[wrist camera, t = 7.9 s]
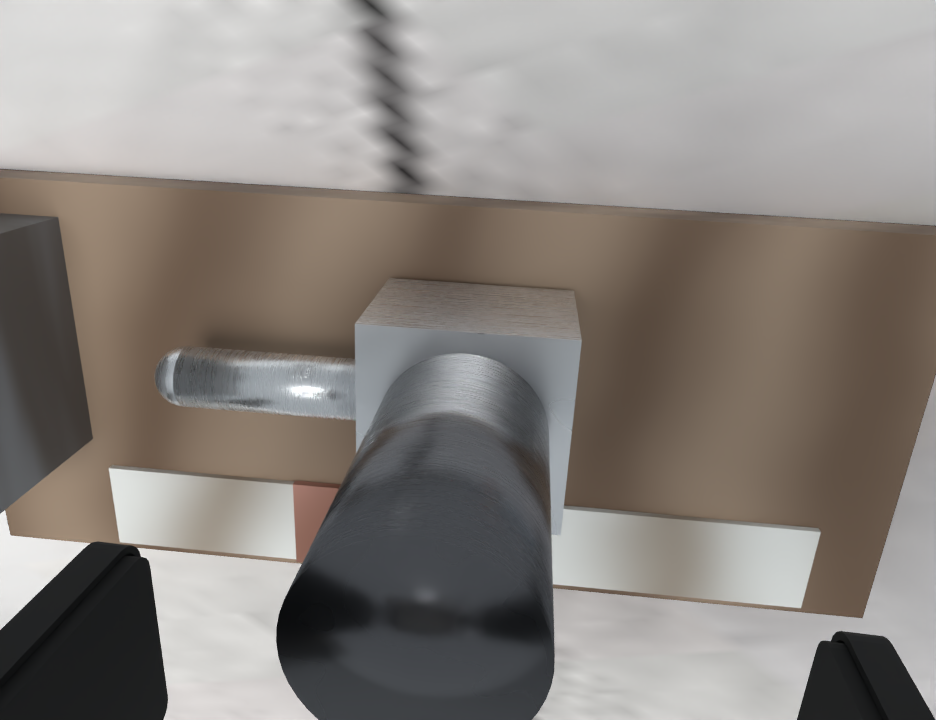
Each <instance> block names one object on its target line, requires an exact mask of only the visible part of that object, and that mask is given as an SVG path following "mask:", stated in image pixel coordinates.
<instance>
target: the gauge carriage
mask: <svg viewBox="0 0 936 720" xmlns="http://www.w3.org/2000/svg"><path fill="white" fill-rule="evenodd" d="M581 343H582V339H581V333H580V326H579V320H578V314H577V307H576V301H575V295H574V291H568V290H554V289H539V288H525V287H510V286H496V285H481V284H467V283H452V282H438V281H423V280H409V279H394V278H389V279H388V281H387V282H386V283H385V285H384V286H383V287H382V289H381V290H380V291H379V293H378V294H377V295H376V297H375V298H374V299H373V301H372V302H371V303H370V304H369V306H368V307H367V308H366V310H365V311H364V312H363V314H362V315H361V316H360V318H359V319H358V320H357V322H356V323H355V359H349V358H336V357H323V356H310V355H297V354H284V353H271V352H258V351H245V350H232V349H219V348H206V347H193V346H183V347H178V348H175V349H173V350H171V351H169V352H167V353H166V354H165V355H164V356H163V357H162V358H161V359H160V360H159V362H158V364H157V366H156V369H155V374H154V378H155V385H156V387H157V389H158V391H159V393H160V394H161V395H162V397H163V398H164V399H166V400H167V401H168V402H170V403H172V404H174V405H178V406H183V407H194V408H206V409H218V410H230V411H242V412H254V413H266V414H278V415H290V416H302V417H314V418H326V419H339V420H351V421H356V455H355V457H354V459H353V461H352V463H351V465H350V467H349V469H348V471H347V473H346V475H345V477H344V479H343V481H342V483H341V485H340V487H339V489H338V491H337V494H336V496H335V498H334V500H333V502H332V504H331V506H330V508H329V510H328V512H327V514H326V516H325V518H324V520H323V522H322V524H321V526H320V528H319V530H318V532H317V534H316V536H315V538H314V540H313V542H312V544H311V546H310V548H309V551H308V553H307V555H306V557H305V559H304V561H303V563H302V565H301V567H300V569H299V571H298V573H297V575H296V577H295V579H294V581H293V583H292V585H291V587H290V589H289V591H288V593H287V595H286V597H285V599H284V602H283V605H282V607H281V610H280V613H279V618H278V623H277V636H276V643H277V650H278V656H279V660H280V663H281V666H282V670H283V672H284V674H285V676H286V678H287V681H288V683H289V685H290V686H291V688H292V689H293V691H294V692H295V694H296V696H297V697H298V698H299V699H300V701H301V702H302V703H303V704H304V705H305V707H306V708H307V709H308V710H309V711H310V712H311V713H312V714H313V715H314V716H315V717H316V718H317V719H318V720H532V719H533V717H534V716H535V715H536V714H537V713H538V711H539V710H540V708H541V706H542V705H543V703H544V701H545V700H546V697H547V695H548V692H549V690H550V687H551V684H552V679H553V674H554V657H555V656H554V615H553V574H552V535H561V527H562V518H563V509H564V500H565V490H566V481H567V472H568V463H569V454H570V444H571V435H572V426H573V417H574V408H575V398H576V389H577V380H578V371H579V362H580V352H581Z"/></svg>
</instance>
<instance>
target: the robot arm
mask: <svg viewBox="0 0 936 720" xmlns="http://www.w3.org/2000/svg"><path fill="white" fill-rule="evenodd" d="M167 703H168V695H167V688H166V681H165V673H164V666H163V658H162V651H161V644H160V636H159V629H158V622H157V614H156V607H155V600H154V592H153V585H152V578H151V570H150V565H149V561H148V560H147V559H146V558H144V557H141V556H140V552H139V550H138V549H137V548H136V547H134V546H132V545H124V544H115V543H107V542H99V541H97V542H92V543H91V544H89V545H88V546H87V547H85V548H84V549H83V550H82V551H81V552H80V553H79V554H78V555H77V556H76V557H75V558H74V559H73V560H72V561H71V562H70V563H69V564H68V565H67V566H66V567H65V568H64V569H63V570H62V571H61V572H60V573H59V574H58V575H57V576H56V577H54V578H53V579H52V580H51V581H50V582H49V583H48V584H47V585H46V586H45V587H44V588H43V589H42V590H41V591H40V592H39V593H38V594H37V595H36V596H35V597H34V598H33V599H32V600H31V601H30V602H29V603H28V604H27V605H26V606H25V607H24V608H23V609H22V610H21V611H19V612H18V613H17V614H16V615H15V616H14V617H13V618H12V619H11V620H10V621H9V622H8V623H7V624H6V625H5V626H4V627H3V628H2V629H1V630H0V720H163V719H164V716H165V713H166V709H167ZM797 720H935V718H934V717H933V715H932V713H931V711H930V710H929V708H928V706H927V704H926V703H925V701H924V699H923V697H922V696H921V694H920V692H919V691H918V689H917V687H916V685H915V684H914V682H913V680H912V678H911V677H910V675H909V673H908V671H907V670H906V668H905V666H904V664H903V663H902V661H901V659H900V657H899V656H898V654H897V652H896V650H895V649H894V647H893V645H892V644H891V642H890V641H889V640H888V639H887V638H885V637H883V636H876V635H867V634H859V633H851V632H843V631H839V632H836V633H835V634H834V635H833V637H832V640H831V642H830V641H821V642H820V643H819V645H818V647H817V650H816V654H815V657H814V661H813V664H812V668H811V671H810V675H809V679H808V682H807V686H806V689H805V693H804V697H803V700H802V704H801V707H800V711H799V715H798V718H797Z"/></svg>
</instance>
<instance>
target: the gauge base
mask: <svg viewBox="0 0 936 720" xmlns="http://www.w3.org/2000/svg"><path fill="white" fill-rule="evenodd" d="M389 278H394V279H409V280H423V281H438V282H452V283H467V284H481V285H496V286H510V287H525V288H539V289H554V290H568V291H574V295H575V301H576V307H577V314H578V320H579V326H580V333H581V339H582V343H581V352H580V362H579V371H578V380H577V389H576V398H575V408H574V417H573V426H572V435H571V444H570V454H569V463H568V472H567V481H566V490H565V500H564V509H563V518H562V527H561V535H552V574H553V588H558V589H568V590H579V591H589V592H599V593H609V594H620V595H630V596H640V597H651V598H661V599H671V600H682V601H692V602H702V603H712V604H723V605H733V606H743V607H754V608H764V609H774V610H784V611H795V612H805V613H815V614H826V615H836V616H846V617H856V618H863V614H864V611H865V608H866V605H867V601H868V598H869V595H870V591H871V588H872V585H873V581H874V578H875V575H876V571H877V568H878V565H879V561H880V558H881V555H882V551H883V548H884V545H885V541H886V538H887V535H888V531H889V528H890V525H891V521H892V518H893V515H894V511H895V508H896V505H897V501H898V498H899V495H900V491H901V488H902V485H903V481H904V478H905V475H906V471H907V468H908V465H909V462H910V458H911V455H912V452H913V448H914V445H915V442H916V438H917V435H918V432H919V428H920V425H921V422H922V418H923V415H924V412H925V408H926V405H927V402H928V398H929V395H930V392H931V388H932V385H933V382H934V378H935V375H936V226H928V225H912V224H895V223H879V222H862V221H846V220H830V219H813V218H797V217H780V216H764V215H747V214H731V213H715V212H698V211H682V210H665V209H649V208H632V207H616V206H600V205H583V204H567V203H550V202H534V201H517V200H501V199H484V198H468V197H452V196H435V195H419V194H402V193H386V192H369V191H353V190H337V189H320V188H304V187H287V186H271V185H254V184H238V183H222V182H205V181H189V180H172V179H156V178H139V177H123V176H107V175H90V174H74V173H57V172H41V171H24V170H8V169H0V513H2V512H3V511H4V510H5V511H6V516H7V520H8V525H9V530H10V534H11V535H13V536H23V537H33V538H44V539H54V540H64V541H74V542H85V543H92V542H97V541H99V542H107V543H115V544H124V545H132V546H134V547H136V548H146V549H157V550H167V551H177V552H188V553H198V554H208V555H218V556H229V557H239V558H249V559H260V560H270V561H280V562H290V563H301V564H302V563H303V561H304V559H305V557H306V555H307V553H308V551H309V548H310V546H311V544H312V542H313V540H314V538H315V536H316V534H317V532H318V530H319V528H320V526H321V524H322V522H323V520H324V518H325V516H326V514H327V512H328V510H329V508H330V506H331V504H332V502H333V500H334V498H335V496H336V494H337V491H338V489H339V487H340V485H341V483H342V481H343V479H344V477H345V475H346V473H347V471H348V469H349V467H350V465H351V463H352V461H353V459H354V457H355V455H356V421H351V420H339V419H326V418H314V417H302V416H290V415H278V414H266V413H254V412H242V411H230V410H218V409H206V408H194V407H183V406H178V405H174V404H172V403H170V402H168V401H167V400H166V399H164V398H163V397H162V395H161V394H160V393H159V391H158V389H157V387H156V385H155V378H154V374H155V369H156V366H157V364H158V362H159V360H160V359H161V358H162V357H163V356H164V355H165V354H166V353H167V352H169V351H171V350H173V349H175V348H178V347H183V346H193V347H206V348H219V349H232V350H245V351H258V352H271V353H284V354H297V355H310V356H323V357H336V358H349V359H355V323H356V322H357V320H358V319H359V318H360V316H361V315H362V314H363V312H364V311H365V310H366V308H367V307H368V306H369V304H370V303H371V302H372V301H373V299H374V298H375V297H376V295H377V294H378V293H379V291H380V290H381V289H382V287H383V286H384V285H385V283H386V282H387V281H388V279H389Z"/></svg>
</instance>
